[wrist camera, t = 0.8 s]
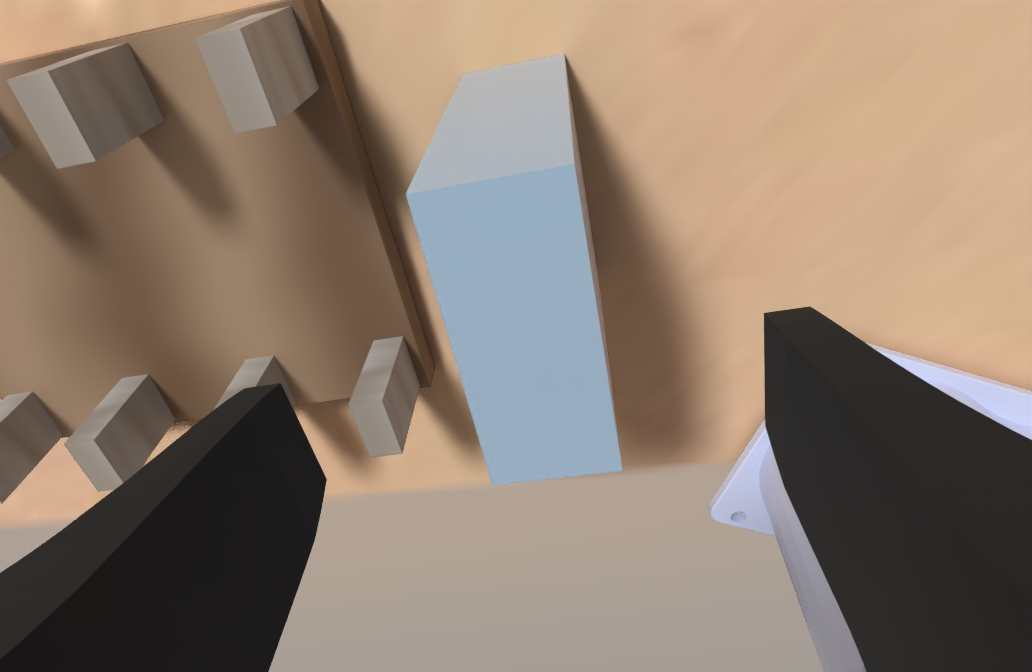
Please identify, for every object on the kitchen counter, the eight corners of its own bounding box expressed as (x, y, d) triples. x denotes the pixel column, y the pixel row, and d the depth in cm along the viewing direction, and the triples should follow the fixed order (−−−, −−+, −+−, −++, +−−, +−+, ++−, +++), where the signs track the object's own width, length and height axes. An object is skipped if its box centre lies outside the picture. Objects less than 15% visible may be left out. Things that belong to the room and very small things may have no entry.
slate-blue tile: (564, 53, 16) (574, 163, 10) (597, 272, 20) (622, 470, 13) (463, 74, 17) (405, 194, 10) (511, 286, 20) (492, 486, 13)
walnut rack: (315, -8, 16) (252, 19, 13) (435, 367, 22) (413, 455, 18) (-178, 104, 18) (-348, 152, 14) (51, 421, 23) (-32, 510, 20)
